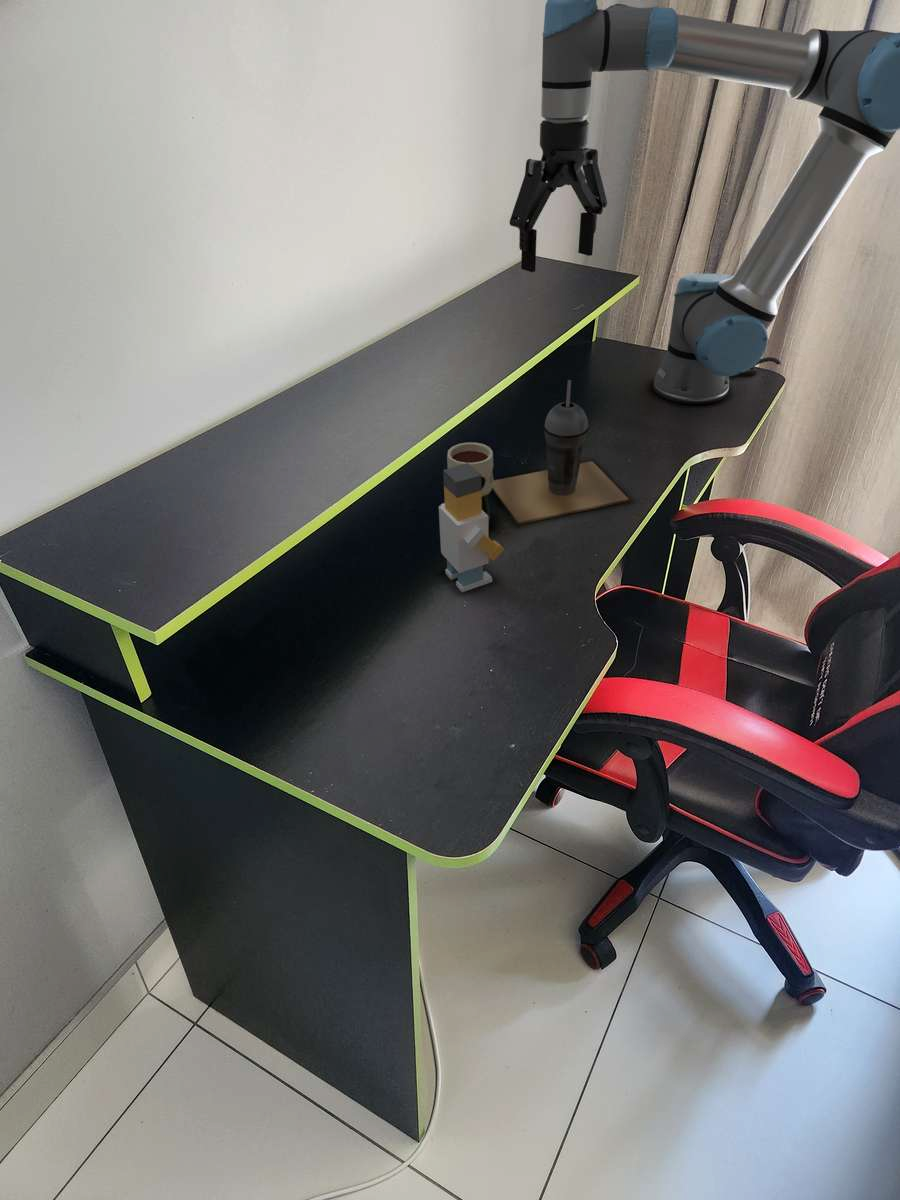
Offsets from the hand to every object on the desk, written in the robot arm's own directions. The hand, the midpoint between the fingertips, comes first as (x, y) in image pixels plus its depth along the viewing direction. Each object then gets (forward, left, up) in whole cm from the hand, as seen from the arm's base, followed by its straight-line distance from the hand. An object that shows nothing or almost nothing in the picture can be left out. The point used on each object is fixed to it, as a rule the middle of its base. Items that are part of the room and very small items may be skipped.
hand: (557, 262), depth 135 cm
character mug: (+26, +28, -31) cm, 49 cm away
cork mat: (+9, +24, -31) cm, 40 cm away
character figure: (+31, +42, -31) cm, 61 cm away
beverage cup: (+8, +24, -30) cm, 40 cm away
